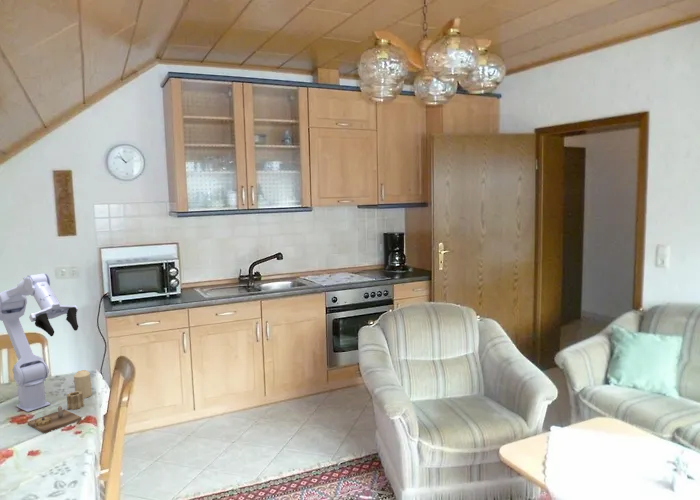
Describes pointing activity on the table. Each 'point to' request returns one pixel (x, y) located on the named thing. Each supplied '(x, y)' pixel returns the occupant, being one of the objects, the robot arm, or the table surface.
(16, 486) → the table surface
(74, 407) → the maple gear
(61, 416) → the gear board
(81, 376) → the candle
